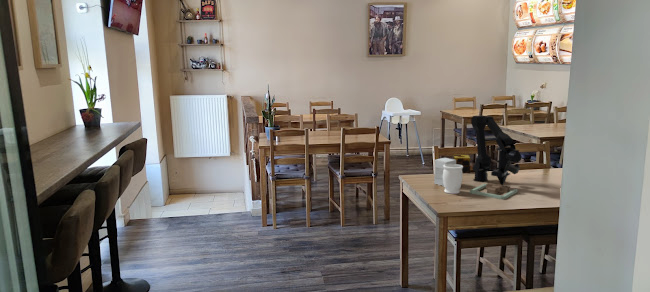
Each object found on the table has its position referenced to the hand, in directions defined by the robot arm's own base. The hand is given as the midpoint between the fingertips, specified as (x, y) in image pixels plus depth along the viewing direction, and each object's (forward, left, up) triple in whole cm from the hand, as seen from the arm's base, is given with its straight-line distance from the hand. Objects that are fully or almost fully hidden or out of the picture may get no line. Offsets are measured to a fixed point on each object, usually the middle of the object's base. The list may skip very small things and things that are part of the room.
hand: (502, 185), depth 272 cm
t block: (0, -10, -2) cm, 11 cm away
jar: (-18, -25, -2) cm, 31 cm away
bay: (0, -12, -1) cm, 12 cm away
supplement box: (-29, -13, -2) cm, 32 cm away
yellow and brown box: (-37, +24, -2) cm, 44 cm away
